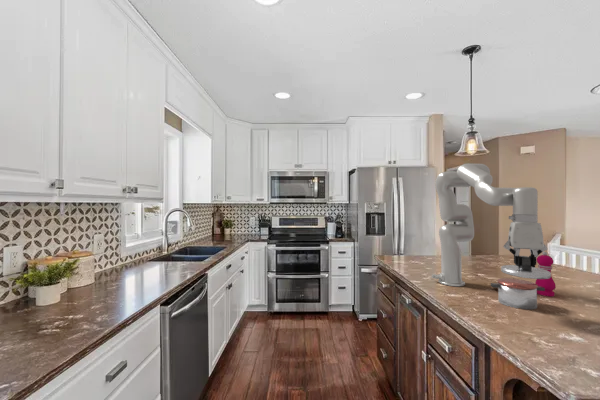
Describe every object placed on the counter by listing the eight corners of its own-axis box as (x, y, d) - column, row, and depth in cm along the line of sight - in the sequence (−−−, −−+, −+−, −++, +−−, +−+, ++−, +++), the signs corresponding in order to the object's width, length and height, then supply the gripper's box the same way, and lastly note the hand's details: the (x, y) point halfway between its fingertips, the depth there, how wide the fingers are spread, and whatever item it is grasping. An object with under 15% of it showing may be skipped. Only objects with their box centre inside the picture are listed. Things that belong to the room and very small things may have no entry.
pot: (497, 307, 116) (497, 285, 116) (486, 296, 129) (486, 277, 129) (552, 312, 110) (552, 289, 110) (535, 300, 123) (534, 280, 123)
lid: (509, 277, 104) (509, 259, 104) (495, 267, 118) (495, 252, 118) (559, 280, 99) (559, 262, 99) (538, 270, 114) (538, 254, 114)
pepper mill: (550, 292, 134) (550, 250, 134) (559, 297, 127) (558, 253, 127) (532, 291, 136) (531, 250, 136) (539, 296, 129) (539, 252, 129)
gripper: (503, 219, 108) (503, 266, 108) (556, 220, 103) (556, 270, 103) (496, 218, 115) (496, 262, 115) (546, 219, 110) (546, 265, 110)
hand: (524, 265), depth 109 cm, fingers closed on lid, 4 cm apart
